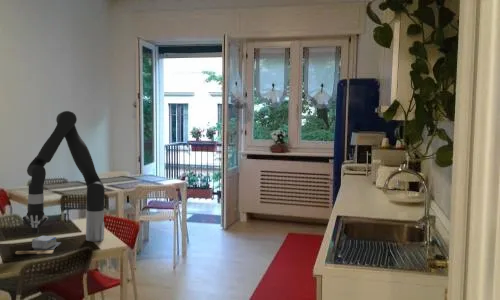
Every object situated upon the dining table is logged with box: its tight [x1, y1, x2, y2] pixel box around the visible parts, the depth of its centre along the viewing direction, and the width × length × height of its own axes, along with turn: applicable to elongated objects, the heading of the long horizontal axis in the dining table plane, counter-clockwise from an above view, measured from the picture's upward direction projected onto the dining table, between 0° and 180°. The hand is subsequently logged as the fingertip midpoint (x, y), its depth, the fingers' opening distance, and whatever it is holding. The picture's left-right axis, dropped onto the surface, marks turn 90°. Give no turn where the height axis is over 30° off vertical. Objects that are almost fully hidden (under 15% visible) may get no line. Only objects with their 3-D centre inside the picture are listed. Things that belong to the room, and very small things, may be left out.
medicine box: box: [31, 235, 57, 249], centre depth 223 cm, size 8×4×9 cm
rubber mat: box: [33, 241, 62, 251], centre depth 225 cm, size 10×12×1 cm
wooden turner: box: [14, 249, 55, 255], centre depth 214 cm, size 17×4×1 cm, turn 106°
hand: (35, 234), depth 224 cm, fingers closed
